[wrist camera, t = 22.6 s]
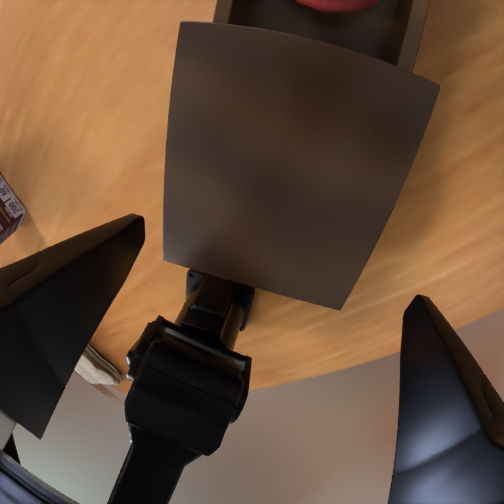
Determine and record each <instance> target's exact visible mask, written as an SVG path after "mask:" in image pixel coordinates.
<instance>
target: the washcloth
mask: <svg viewBox="0 0 504 504" xmlns="http://www.w3.org/2000/svg"><path fill="white" fill-rule="evenodd" d="M74 370H75V371H76V372H77V373H79V374H80V375H81V376H82V377H83V378H84V379H86V380H87V381H88V382H90V383H91V384H96V385H99V384H102V383H103V384H110V385H119V384H120V381H122V380H123V378H122V377H121V376H120V374H119V372H118V371H117V370H116V368H115V367H113V366H112V365H111V364H109V363H108V362H107V361H106V360H105V359H103V358H101V356H100V355H99V354H98V353H97V352H96V351H95V350H94V349H93V348H92V347H91V346H90V345H89V344H88V345H87V347H86V348H85V350H84V352H83V354H82V356H81V358H80V360H79V361H78V363H77V365H76V367H75V369H74Z"/></svg>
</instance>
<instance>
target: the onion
mask: <svg viewBox="0 0 504 504" xmlns="http://www.w3.org/2000/svg"><path fill="white" fill-rule="evenodd" d="M296 1H297V2H298V3H300V4H303V5H306V6H309V7H312V8H314V9H317V10H320V11H322V12H345V13H351V12H354V11H357V10H360V9H363V8H367V7H370V6H372V5H374V4H375V3H376V2H378V1H379V0H296Z"/></svg>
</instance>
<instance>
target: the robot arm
mask: <svg viewBox="0 0 504 504" xmlns="http://www.w3.org/2000/svg"><path fill="white" fill-rule="evenodd" d="M144 241H145V221H144V218H143V216H140V215H136V214H129V215H127V216H124V217H121V218H119V219H116V220H113V221H111V222H108V223H106V224H103V225H101V226H98V227H96V228H93V229H91V230H88V231H86V232H83V233H81V234H79V235H76V236H74V237H71V238H69V239H67V240H64V241H62V242H60V243H57V244H55V245H53V246H51V247H48V248H46V249H44V250H42V251H39V252H37V253H35V254H33V255H31V256H28V257H26V258H24V259H22V260H19V261H17V262H15V263H12V264H10V265H7V266H5V267H2V268H0V504H79V503H77V502H76V501H74V500H72V499H71V498H69V497H67V496H65V495H64V494H62V493H61V492H59V491H57V490H56V489H54V488H53V487H51V486H49V485H48V484H46V483H45V482H43V481H42V480H41V479H39V478H38V477H36V476H35V475H33V474H32V473H31V472H29V471H28V470H27V469H25V468H24V467H22V466H21V464H20V460H19V457H18V453H17V450H16V446H15V442H14V438H13V434H12V431H13V430H14V428H15V426H16V424H17V423H18V424H19V425H20V426H22V427H23V428H24V429H26V430H27V431H29V432H30V433H31V434H33V435H34V436H36V437H37V438H39V439H41V438H42V436H43V434H44V432H45V429H46V427H47V425H48V423H49V420H50V418H51V416H52V414H53V411H54V410H55V407H56V405H57V403H58V401H59V399H60V397H61V395H62V393H63V391H64V389H65V386H66V385H67V383H68V381H69V379H70V377H71V374H72V373H73V371H74V369H75V367H76V365H77V363H78V361H79V360H80V358H81V356H82V354H83V352H84V350H85V348H86V347H87V345H88V343H89V341H90V339H91V338H92V336H93V334H94V332H95V331H96V329H97V327H98V325H99V324H100V322H101V320H102V318H103V317H104V315H105V313H106V312H107V310H108V308H109V307H110V305H111V303H112V302H113V300H114V298H115V297H116V295H117V293H118V292H119V290H120V289H121V287H122V285H123V284H124V282H125V280H126V278H127V276H128V274H129V272H130V270H131V268H132V266H133V264H134V262H135V260H136V258H137V256H138V254H139V252H140V250H141V248H142V246H143V244H144ZM248 290H249V291H248ZM250 291H251V292H250ZM254 294H255V288H254V287H251V286H248V285H244V284H241V283H237V282H234V281H231V280H227V279H224V278H220V277H217V276H214V275H210V274H207V273H203V272H200V271H197V270H194V269H189V271H188V272H187V281H186V301H185V303H184V305H183V307H182V309H181V311H180V313H179V315H178V317H177V319H176V321H175V323H172V322H170V321H168V320H166V319H165V318H164V317H162V316H160V315H159V316H158V317H157V319H156V321H153V322H152V323H148V325H147V326H146V328H145V330H144V332H143V333H142V335H141V337H140V338H139V339H138V341H137V342H136V343H135V344H134V345H133V347H132V348H131V349H130V350H129V352H128V354H127V356H126V357H127V360H128V363H129V366H128V374H127V379H129V380H131V381H133V383H132V386H131V388H130V390H129V392H128V395H127V397H126V400H125V417H126V422H127V423H128V428H129V433H130V438H131V446H130V449H129V451H128V454H127V456H126V458H125V461H124V463H123V466H122V468H121V470H120V473H119V475H118V478H117V480H116V483H115V485H114V488H113V490H112V493H111V495H110V498H109V500H108V503H107V504H168V503H169V501H170V499H171V496H172V494H173V492H174V490H175V487H176V485H177V483H178V480H179V478H180V476H181V473H182V471H183V469H184V467H185V466H186V465H187V464H189V463H191V462H192V461H194V460H195V459H197V458H198V457H200V456H201V455H205V456H209V455H211V454H212V453H213V452H214V451H216V450H217V449H218V448H219V447H220V445H221V442H222V439H223V436H224V433H225V431H226V429H227V427H228V425H229V423H230V424H232V423H234V422H235V420H236V419H237V418H238V417H239V415H240V413H241V411H242V409H243V407H244V405H245V402H246V399H247V396H248V391H249V382H250V372H251V362H252V358H251V357H249V356H247V355H246V356H244V355H242V354H239V353H237V352H235V351H233V349H234V345H235V342H236V339H237V336H238V333H239V331H243V330H244V329H245V326H246V322H247V319H248V315H249V312H250V308H251V304H252V301H253V297H254ZM388 504H504V402H503V401H502V399H501V398H500V396H499V395H498V393H497V392H496V390H495V389H494V387H493V386H492V385H491V383H490V381H489V380H488V378H487V377H486V375H485V374H483V371H482V369H481V368H480V366H479V365H478V363H477V362H476V360H475V359H474V357H473V356H472V354H471V353H470V352H469V350H468V349H467V347H466V346H465V345H464V343H463V342H462V340H461V339H460V338H459V336H458V335H457V334H456V332H455V331H454V329H453V328H452V327H451V325H450V324H449V323H448V321H447V320H446V319H445V317H444V316H443V315H442V313H441V312H440V311H439V310H438V308H437V307H436V306H435V305H434V303H433V302H432V301H431V299H430V298H429V297H427V296H424V295H420V294H419V295H416V296H415V297H414V299H413V300H412V302H411V303H410V304H409V306H408V307H407V309H406V310H405V312H404V315H403V324H402V339H401V351H400V394H399V416H398V430H397V441H396V451H395V460H394V468H393V475H392V481H391V488H390V493H389V499H388Z"/></svg>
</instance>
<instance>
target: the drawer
mask: <svg viewBox="0 0 504 504" xmlns="http://www.w3.org/2000/svg"><path fill="white" fill-rule="evenodd" d="M429 2H430V0H379V1H378V2H376V3H375V4H374V5H372V6H370V7H367V8H363V9H360V10H357V11H354V12H351V13H345V12H322V11H320V10H317V9H314V8H312V7H309V6H306V5H303V4H300V3H298V2H297V1H296V0H217V4H216V9H215V14H214V19H213V23H224V24H233V25H242V26H249V27H256V28H262V29H268V30H274V31H279V32H284V33H289V34H294V35H299V36H303V37H307V38H311V39H315V40H319V41H323V42H327V43H330V44H334V45H337V46H341V47H344V48H347V49H351V50H354V51H357V52H360V53H363V54H366V55H369V56H371V57H374V58H377V59H380V60H382V61H385V62H388V63H390V64H393V65H395V66H398V67H400V68H402V69H405V70H407V71H409V72H412V70H413V66H414V63H415V59H416V55H417V52H418V48H419V44H420V40H421V36H422V32H423V28H424V24H425V20H426V15H427V11H428V6H429Z"/></svg>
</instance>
